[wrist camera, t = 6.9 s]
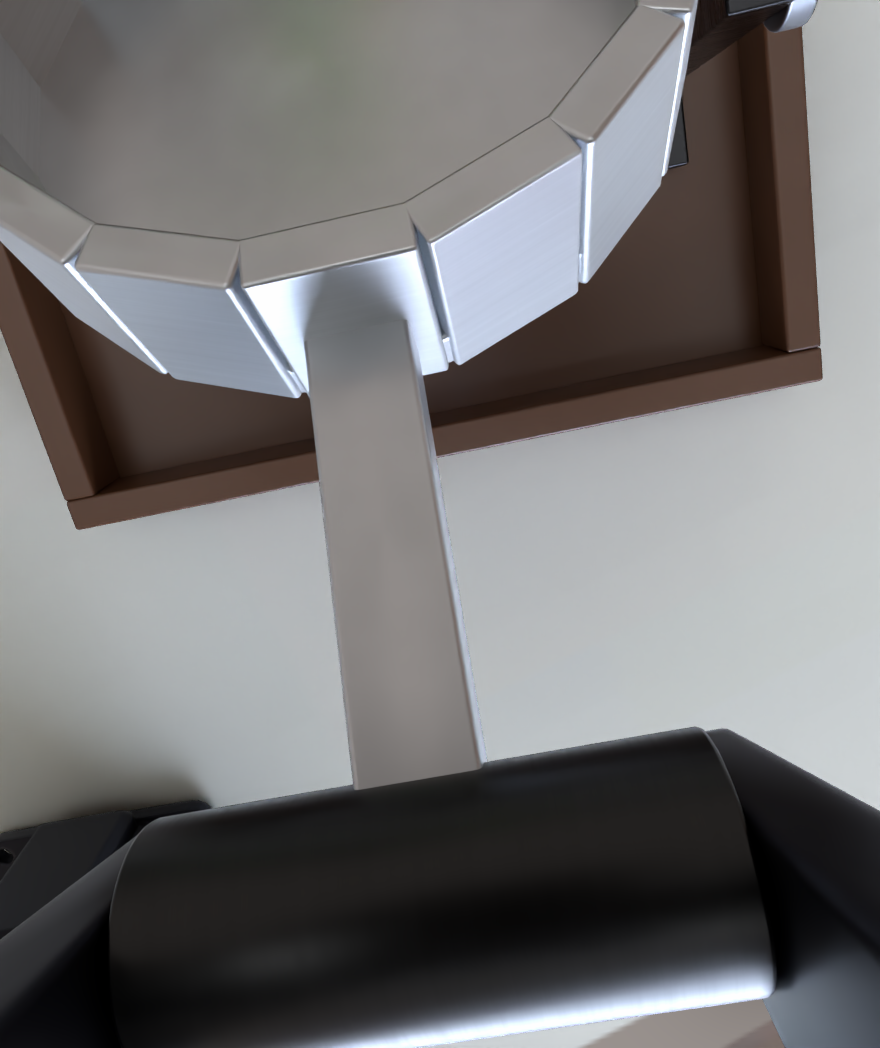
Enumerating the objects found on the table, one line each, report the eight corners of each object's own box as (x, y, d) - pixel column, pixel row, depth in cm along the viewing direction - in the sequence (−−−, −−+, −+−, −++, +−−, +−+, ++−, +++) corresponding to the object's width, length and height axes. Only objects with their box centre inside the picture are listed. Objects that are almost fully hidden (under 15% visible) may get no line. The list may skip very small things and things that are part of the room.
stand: (699, 162, 17) (836, 119, 11) (101, 297, 18) (-76, 325, 12) (677, -60, 16) (817, -248, 10) (35, 99, 17) (-200, 18, 11)
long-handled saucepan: (977, 935, 8) (1173, 996, 5) (14, 1076, 8) (-210, 1184, 6) (594, -183, 13) (601, -403, 11) (38, -38, 14) (-71, -214, 12)
